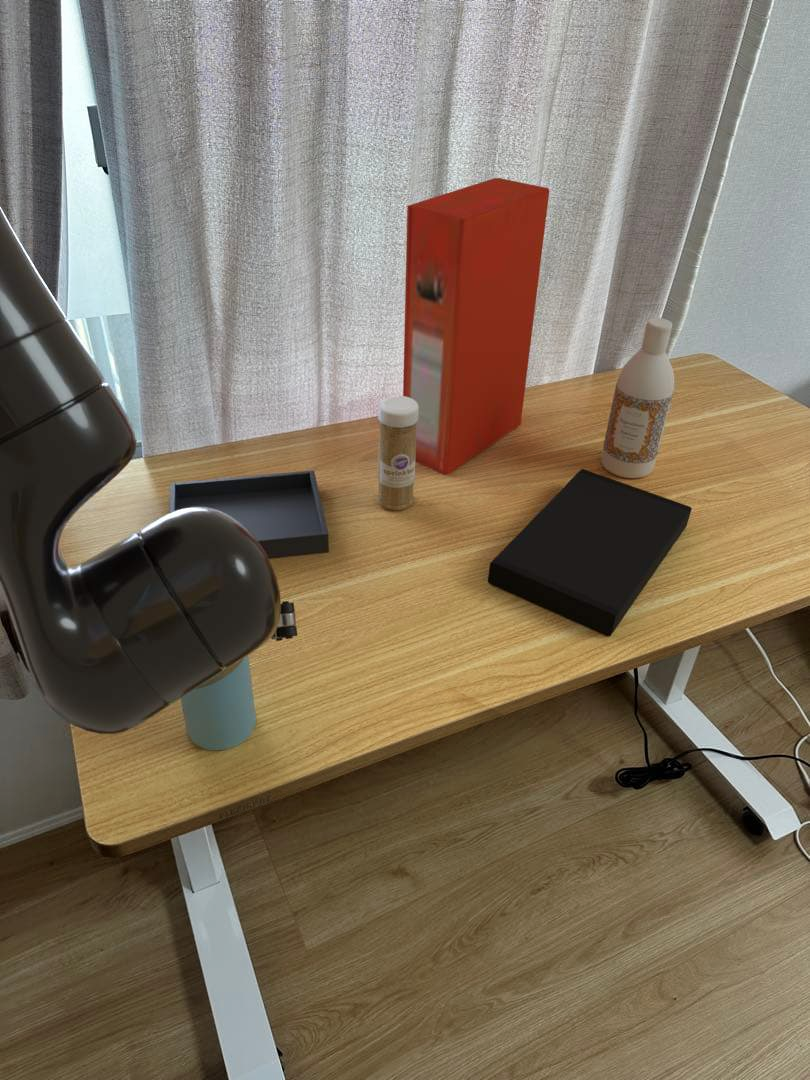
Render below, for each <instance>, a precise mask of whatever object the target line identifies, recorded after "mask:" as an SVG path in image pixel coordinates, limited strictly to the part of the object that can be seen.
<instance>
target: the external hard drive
mask: <svg viewBox="0 0 810 1080" xmlns="http://www.w3.org/2000/svg"><path fill="white" fill-rule="evenodd" d="M692 510H693V509H692V507H691V506H689V505H686V504H684V503H681V502H678V501H675V500H673V499H669V498H667V497H664V496H661V495H659V494H655V493H653V492H649V491H647V490H644V489H641V488H639V487H636V486H633V485H630V484H628V483H624V482H621V481H619V480H616V479H613V478H610V477H608V476H605V475H602V474H599V473H596V472H593V471H591V470H588V469H584V468H581V469H579V471H578V472H577V473H575V475H573V477H572V478H571V479H570V480H569V481H568V482H567V483H566V484H565V485H564V486H563V487H562V488H561V489H560V490H559V491H558V492H557V493H556V494H555V496H553V498H552V499H550V501H548V502H547V504H546V505H545V506H543V508H542V509H541V510H540V511H539V512H538V513H537V514H536V515H535V516H534V517H533V518H532V519H531V520H530V521H529V522H528V523H527V525H525V526H524V527H523V528H522V529H521V530H520V531H519V533H517V534H516V536H515V537H513V539H512V540H511V541H510V542H508V544H507V545H506V546H504V548H502V550H501V551H500V552H499V553H498V554H497V555H496V556H495V557H494V558H493V559H492V561H490V562H489V568H488V575H487V576H488V577H487V583H488V584H489V585H490V586H494V587H496V588H498V589H500V590H503V591H504V592H507V593H509V594H511V595H514V596H515V597H518V598H520V599H523V600H525V601H527V602H530V603H531V604H534V605H537V606H539V607H541V608H543V609H545V610H548V611H550V612H552V613H554V614H557V615H559V616H561V617H563V618H566V619H567V620H570V621H572V622H574V623H577V624H579V625H582V626H583V627H586V628H588V629H590V630H593V631H594V632H597V633H598V634H599V633H600V634H601V635H604V636H606V637H611V636H612V635H613V633H614V632H615V631H616V629H617V627H618V626H619V624H621V622H622V621H623V619H624V617H625V616H626V615H627V613H628V612H629V610H630V609H631V607H632V606H633V604H634V603H635V602H636V600H637V598H638V597H639V596H640V595H641V593H642V591H643V590H644V588H645V587H646V586H647V584H648V583H649V582H650V580H651V579H652V577H653V575H654V574H655V573H656V571H657V570H658V568H659V567H660V566H661V564H662V562H663V561H664V559H665V558H666V557H667V555H669V552H670V551H671V549H672V548H673V547H674V545H675V544H676V542H677V541H678V539H679V538H680V536H681V535H682V534H683V532H684V531H685V529H686V527H687V526H688V523H689V519H690V516H691V513H692Z"/></svg>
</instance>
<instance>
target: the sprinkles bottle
mask: <svg viewBox="0 0 810 1080" xmlns="http://www.w3.org/2000/svg"><path fill="white" fill-rule="evenodd" d="M418 413H419V406H418V403H417V402H416V401H415V400H413V399H411V398H409V397H405V396H403V395H390V396H387V397H385V398H383V399H381V401H379V403H378V413H377V418H378V423H379V433H378V434H379V435H378V450H377V479H378V491H377V492H378V494H377V496H376V497H377V499H376V500H377V503H378V504H379V506H381V507H382V508H383V509H385V510H389V511H402V510H406V509H408V508H410V507H411V506H412V505H413V503H414V499H415V498H414V485H415V483H414V482H415V475H416V474H415V473H416V461H415V457H416V424H417V421H418Z"/></svg>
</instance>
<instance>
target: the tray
mask: <svg viewBox="0 0 810 1080" xmlns="http://www.w3.org/2000/svg"><path fill="white" fill-rule="evenodd" d="M169 484H170V485H169V509H168V511H169V512H168V514H169V513H171V512H174V511H177V510H180V509H184V508H190V507H207V508H212V509H216V510H219V511H221V512H223V513H226V514H227V515H229V516H231V517H233V518H234V519H235V520H237V521H238V522H239V523H241V524H242V525H243V526H244V527H245V528H247V529H248V530H249V531H250V533H251V534H252V535H253V536H254V537H255V538H256V540H257V541H258V542H259V543H260V545H261V546H262V548H263V549H264V551H265V553H266V554H267V556H268V558H269V559H276V558H277V559H278V558H285V557H296V556H305V555H315V554H323V553H330V540H329V535H330V534H329V530H328V526H327V522H326V517H325V512H324V508H323V504H322V499H321V495H320V490H319V486H318V481H317V477H316V473H315V470H304V471H303V470H302V471H292V472H291V471H290V472H278V473H267V474H256V475H245V476H234V477H221V478H209V479H200V480H199V479H198V480H188V481H177V482H170V483H169Z"/></svg>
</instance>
